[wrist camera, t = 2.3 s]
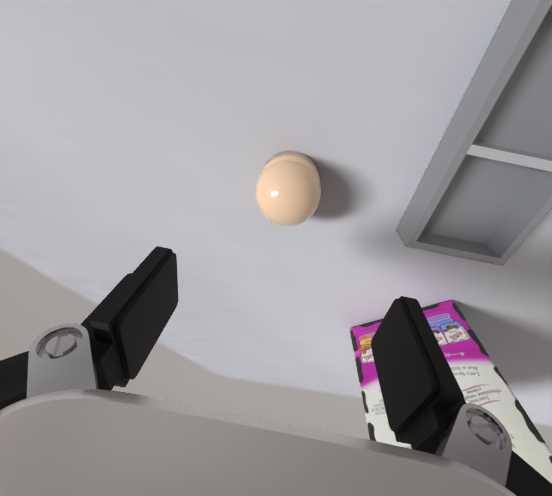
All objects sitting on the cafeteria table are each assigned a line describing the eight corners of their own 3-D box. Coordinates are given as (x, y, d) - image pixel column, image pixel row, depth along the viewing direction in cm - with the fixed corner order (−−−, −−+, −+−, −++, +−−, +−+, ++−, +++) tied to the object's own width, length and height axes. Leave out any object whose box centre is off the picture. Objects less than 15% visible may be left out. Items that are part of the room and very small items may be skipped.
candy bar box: (363, 351, 33) (403, 547, 19) (348, 326, 31) (381, 529, 17) (462, 327, 29) (599, 552, 16) (454, 297, 27) (604, 529, 13)
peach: (265, 144, 20) (255, 164, 16) (326, 157, 20) (331, 180, 16) (257, 201, 23) (246, 230, 19) (311, 212, 23) (312, 243, 19)
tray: (645, -265, 10) (734, -352, 8) (837, -218, 11) (974, -291, 8) (396, 229, 23) (405, 246, 21) (484, 247, 23) (502, 265, 21)
